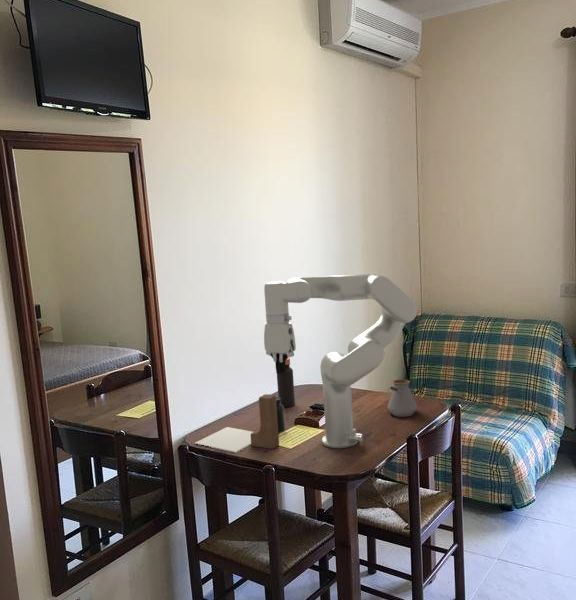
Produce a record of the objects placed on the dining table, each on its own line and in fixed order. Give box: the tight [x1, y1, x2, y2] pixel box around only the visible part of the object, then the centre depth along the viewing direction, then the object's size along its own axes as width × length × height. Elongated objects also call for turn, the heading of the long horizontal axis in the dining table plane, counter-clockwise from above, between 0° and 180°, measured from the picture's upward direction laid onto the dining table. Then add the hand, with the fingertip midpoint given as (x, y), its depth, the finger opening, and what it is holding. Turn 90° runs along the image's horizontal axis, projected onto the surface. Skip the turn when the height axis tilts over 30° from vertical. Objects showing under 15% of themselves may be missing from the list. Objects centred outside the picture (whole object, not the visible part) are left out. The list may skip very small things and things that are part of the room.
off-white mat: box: [194, 426, 254, 454], centre depth 220 cm, size 19×18×1 cm
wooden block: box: [250, 393, 280, 450], centre depth 212 cm, size 9×4×18 cm, turn 61°
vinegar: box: [276, 357, 296, 408], centre depth 256 cm, size 7×7×20 cm
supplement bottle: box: [276, 396, 286, 433], centre depth 228 cm, size 7×7×12 cm
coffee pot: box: [387, 378, 418, 418], centre depth 232 cm, size 21×12×15 cm, turn 155°
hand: (281, 372), depth 204 cm, fingers closed
